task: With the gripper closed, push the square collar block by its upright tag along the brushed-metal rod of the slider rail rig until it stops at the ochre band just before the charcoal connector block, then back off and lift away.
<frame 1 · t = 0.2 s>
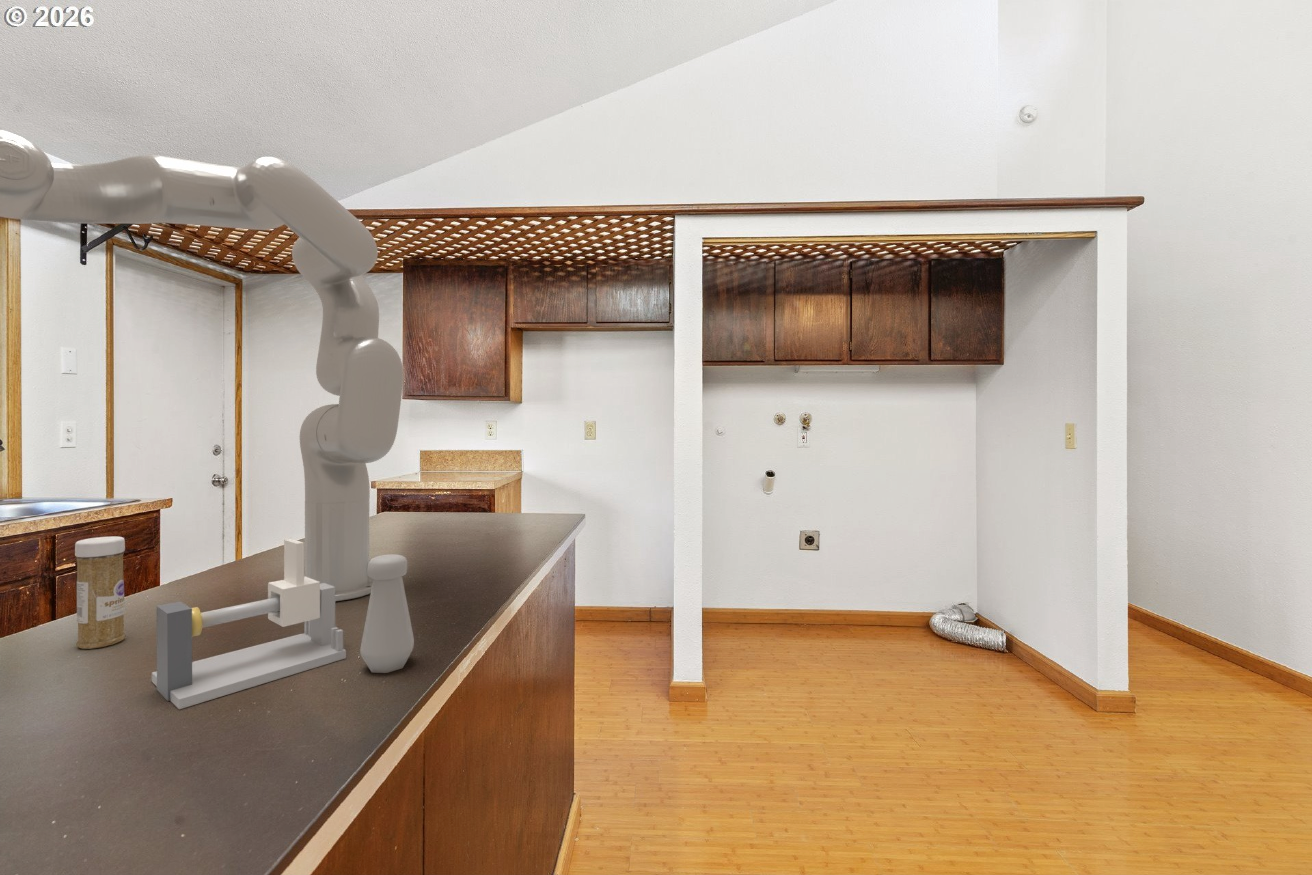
sprinkles bottle: (101, 644, 73), on the worktop
salt shaker: (387, 667, 67), on the worktop
slider rail rig: (253, 669, 66), on the worktop
square collar block: (293, 579, 69), point 10 cm above the worktop, slide at 0.0 cm
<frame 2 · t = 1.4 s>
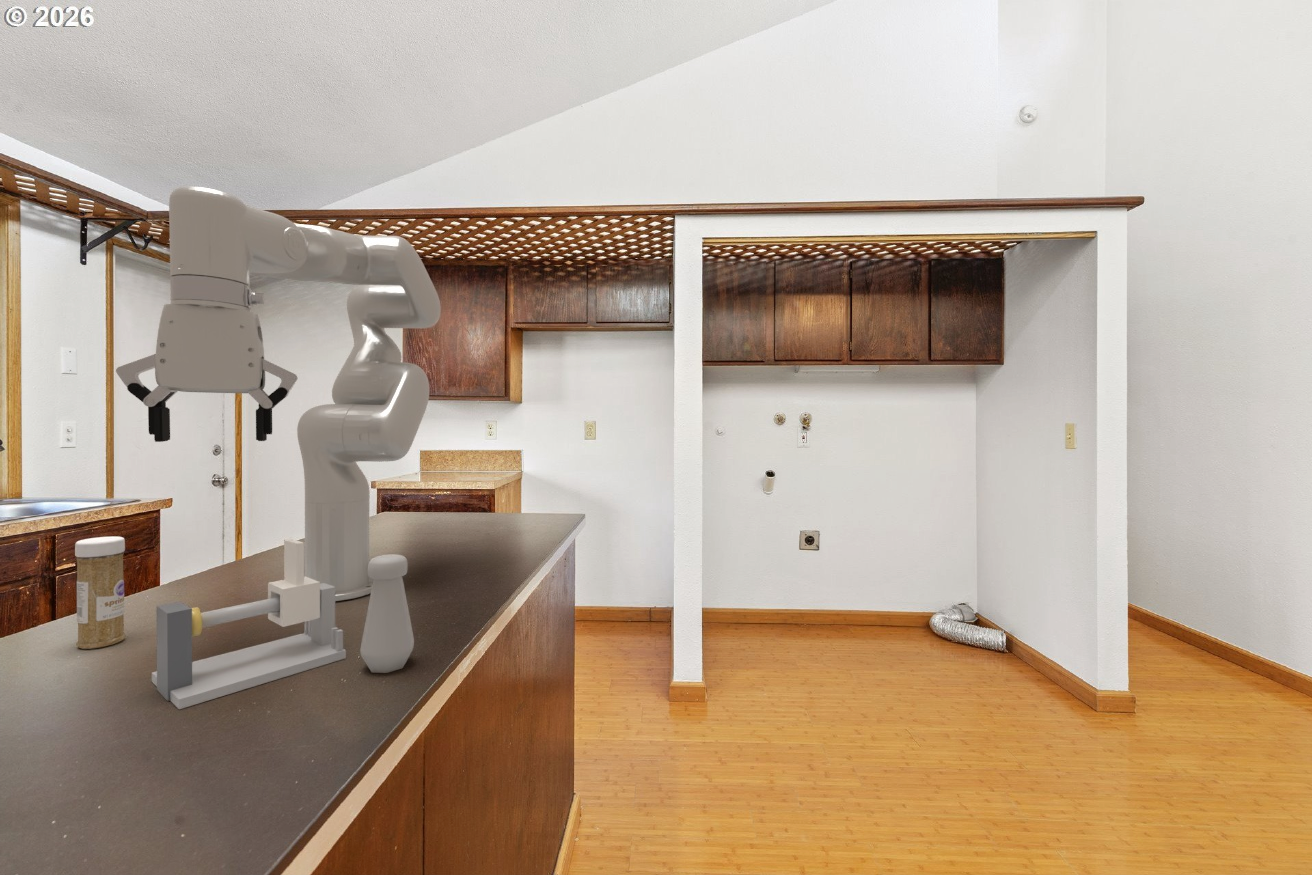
hand: (213, 440, 69), 26 cm above the worktop, tool pointing down, fingers open, 9 cm apart
nothing on the worktop moved.
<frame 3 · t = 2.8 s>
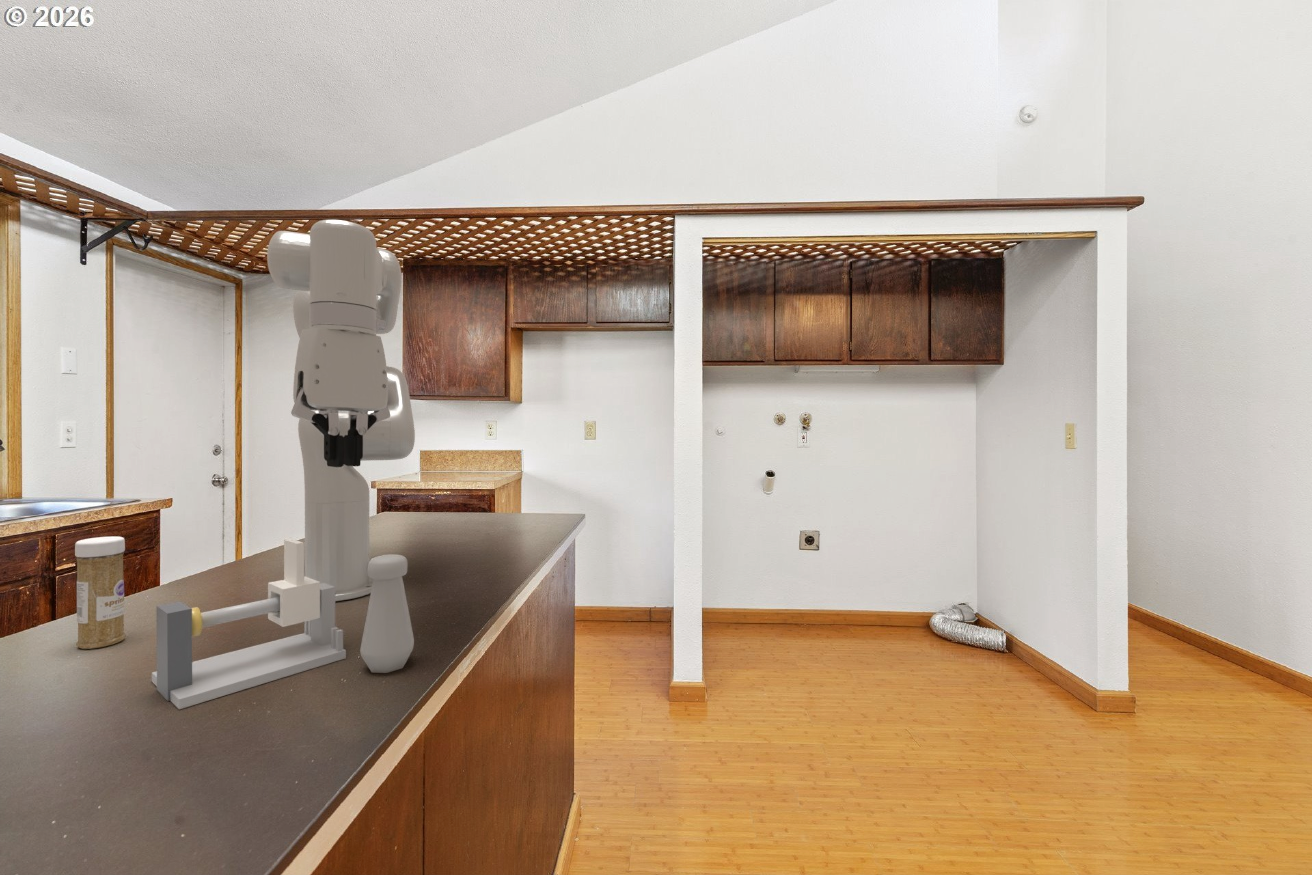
hand: (343, 465, 74), 23 cm above the worktop, tool pointing down, fingers closed
nothing on the worktop moved.
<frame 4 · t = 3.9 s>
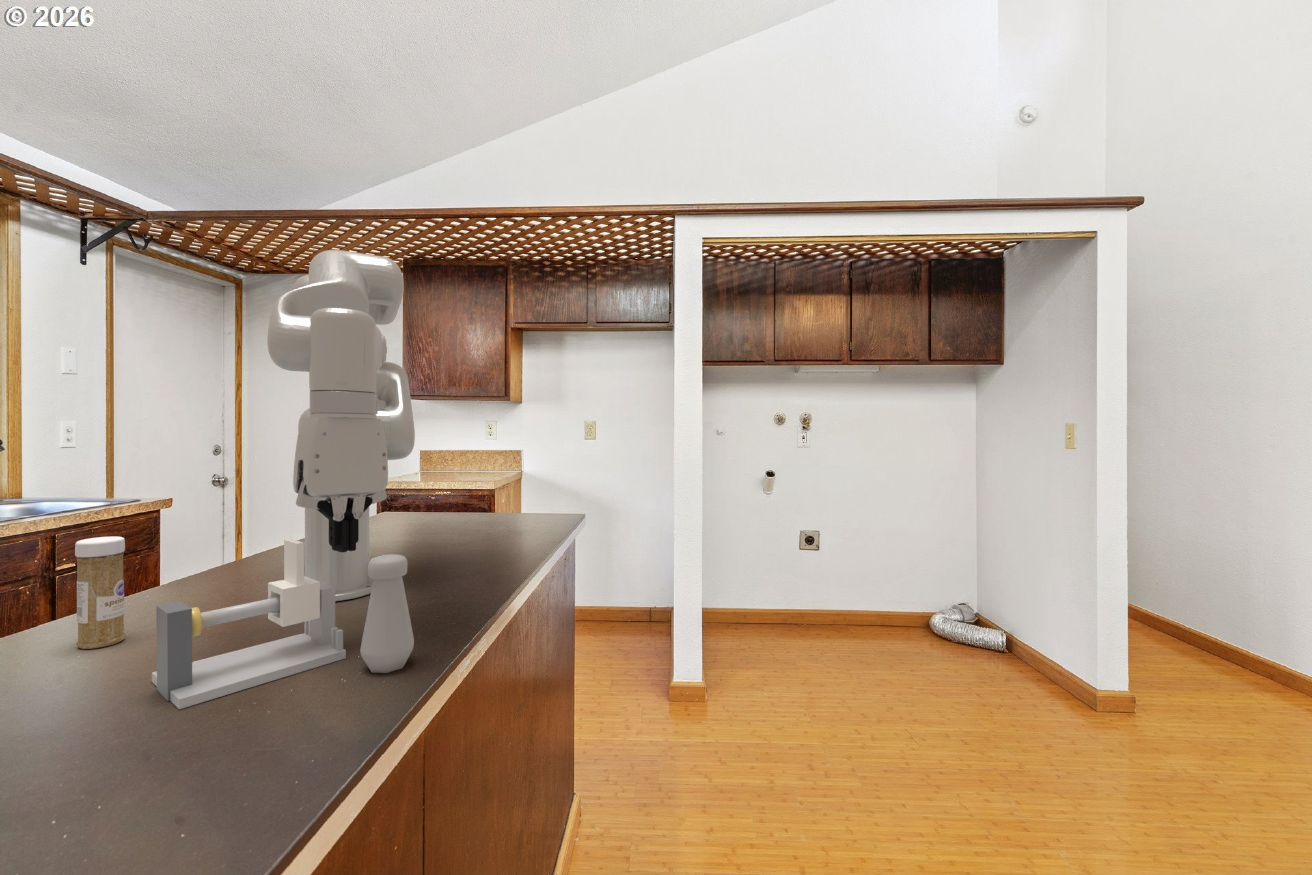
hand: (343, 549, 73), 12 cm above the worktop, tool pointing down, fingers closed
nothing on the worktop moved.
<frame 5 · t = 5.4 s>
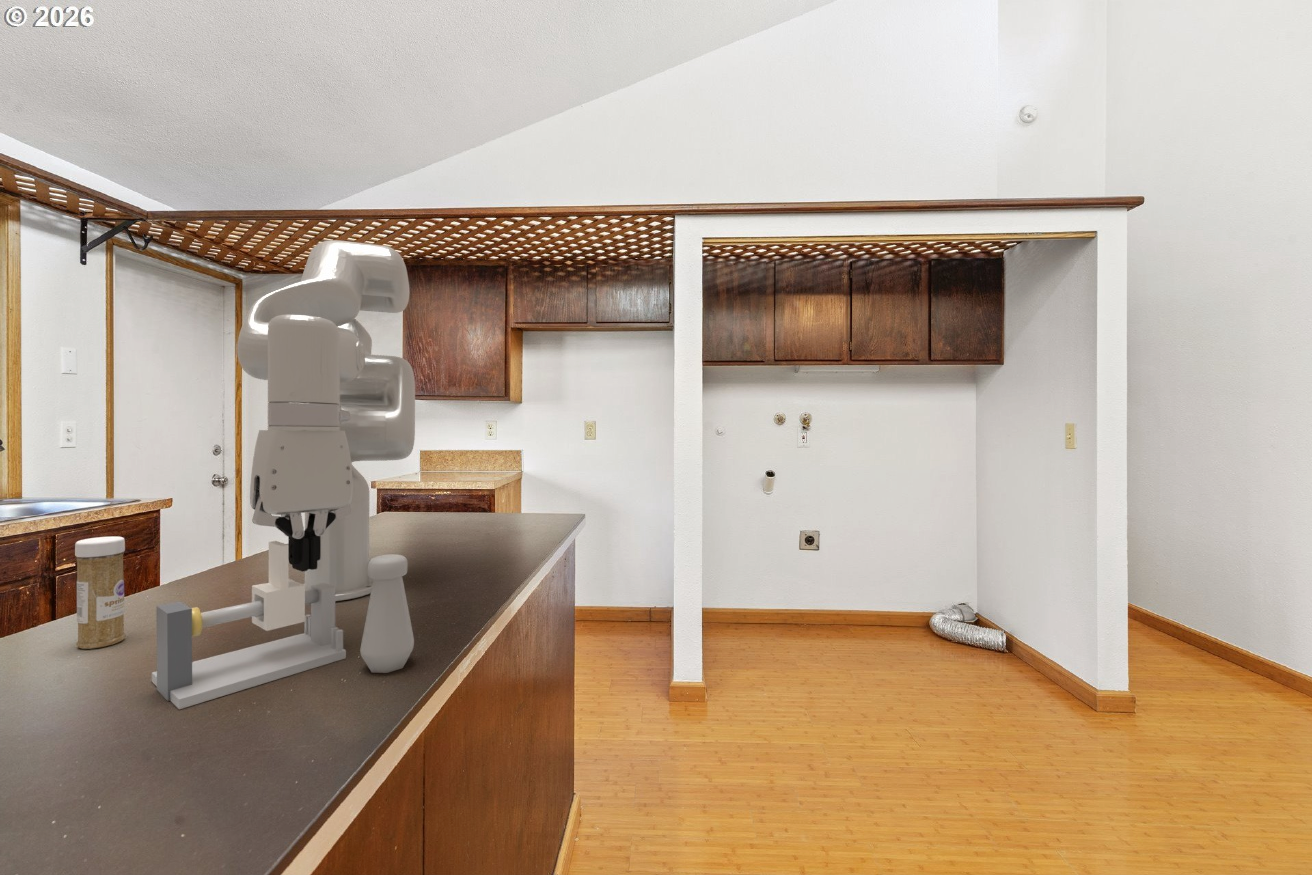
hand: (304, 568, 70), 11 cm above the worktop, tool pointing down, fingers closed
square collar block: (278, 582, 68), point 9 cm above the worktop, slide at 1.7 cm, touching gripper
everything else where it was.
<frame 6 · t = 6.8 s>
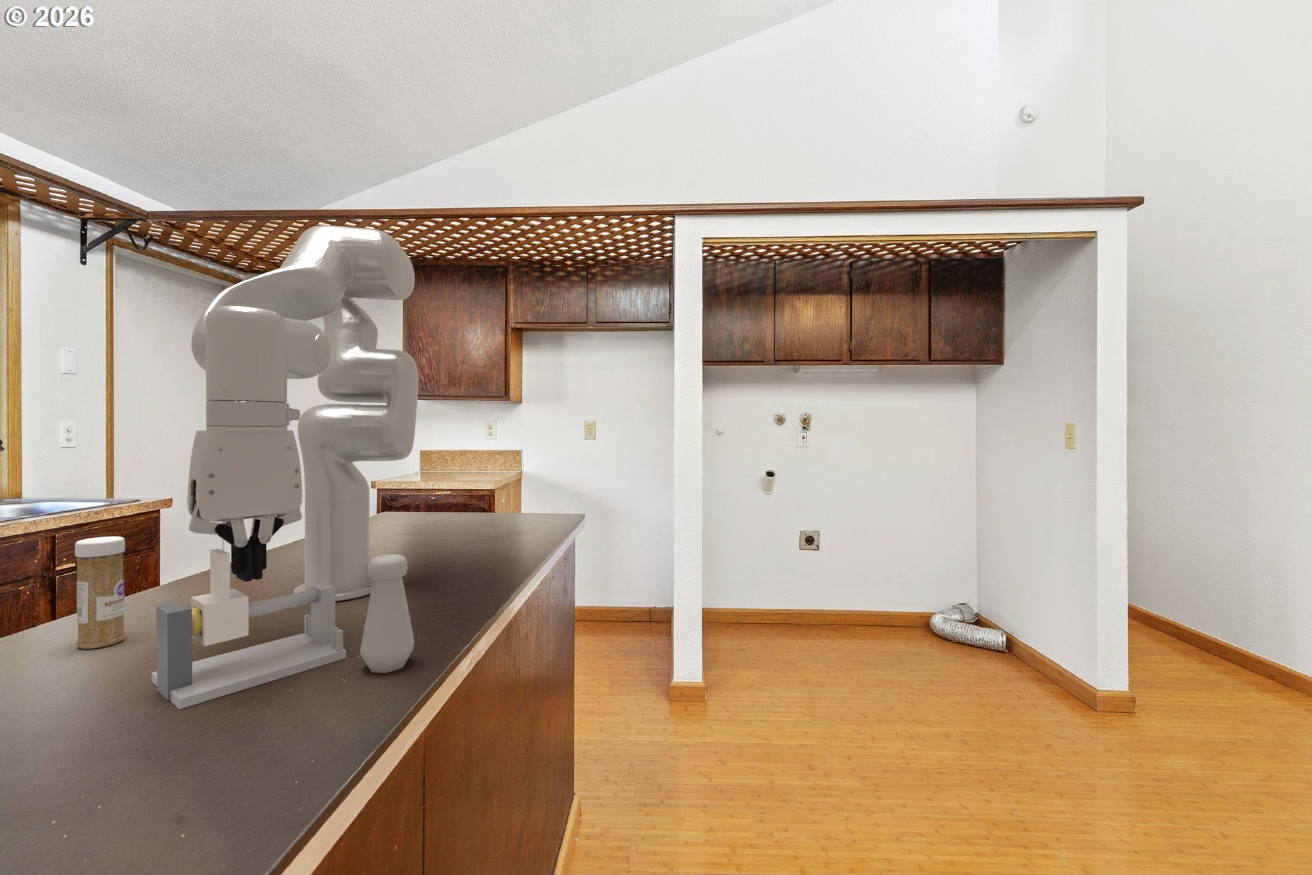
hand: (249, 578, 65), 11 cm above the worktop, tool pointing down, fingers closed
square collar block: (220, 593, 63), point 10 cm above the worktop, slide at 7.4 cm, touching slider rail rig, gripper
everything else where it was.
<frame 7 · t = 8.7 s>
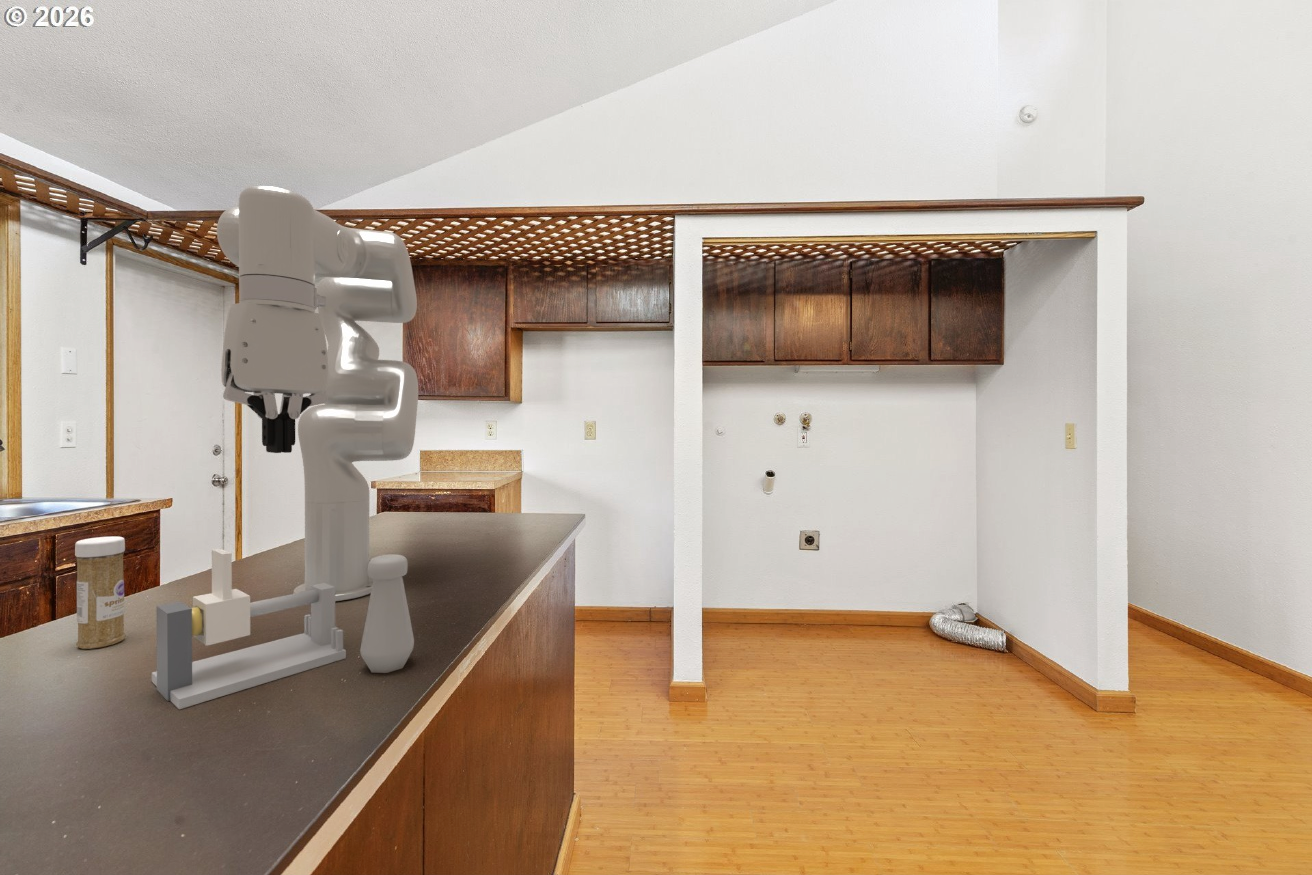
hand: (278, 451, 69), 25 cm above the worktop, tool pointing down, fingers closed
square collar block: (221, 593, 63), point 10 cm above the worktop, slide at 7.3 cm
everything else where it was.
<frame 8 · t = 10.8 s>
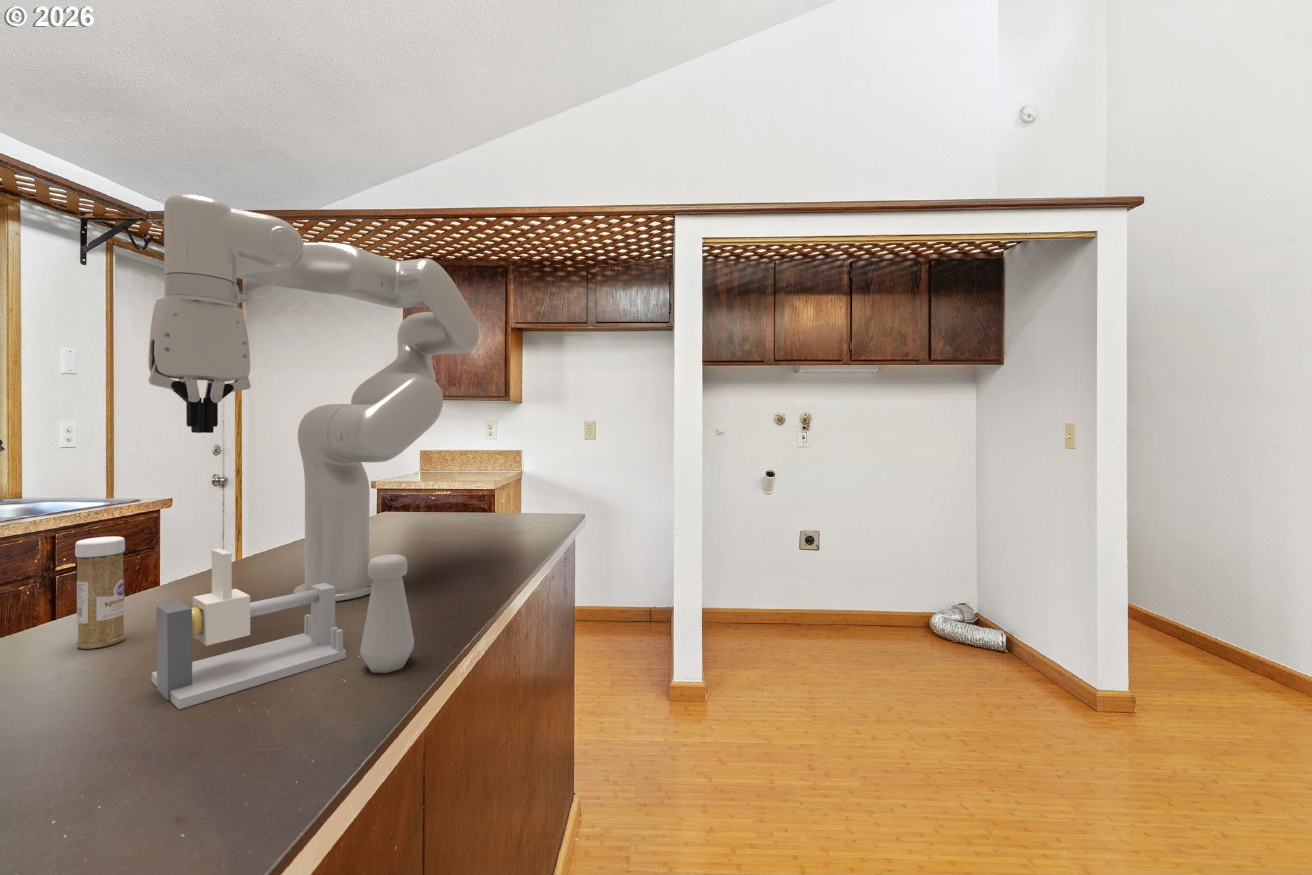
hand: (202, 432, 76), 27 cm above the worktop, tool pointing down, fingers closed
nothing on the worktop moved.
at the end: square collar block slide at 7.3 cm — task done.
